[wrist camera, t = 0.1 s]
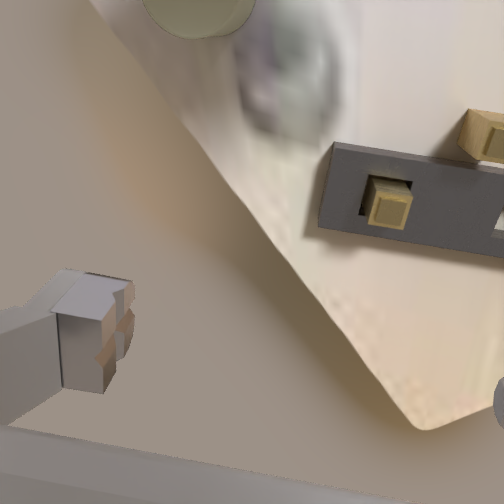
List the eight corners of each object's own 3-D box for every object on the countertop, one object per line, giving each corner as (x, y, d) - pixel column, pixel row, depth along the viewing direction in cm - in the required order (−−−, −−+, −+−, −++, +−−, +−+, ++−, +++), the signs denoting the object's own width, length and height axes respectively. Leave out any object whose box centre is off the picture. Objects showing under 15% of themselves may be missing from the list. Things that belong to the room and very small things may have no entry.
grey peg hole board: (334, 141, 55) (335, 147, 52) (588, 182, 54) (602, 190, 51) (317, 217, 60) (318, 227, 57) (551, 256, 58) (562, 267, 56)
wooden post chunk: (468, 108, 52) (492, 121, 45) (504, 113, 52) (533, 127, 45) (456, 143, 54) (477, 161, 47) (491, 148, 54) (517, 167, 47)
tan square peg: (369, 172, 56) (377, 192, 50) (401, 177, 56) (414, 198, 49) (361, 202, 58) (368, 226, 51) (393, 207, 58) (404, 232, 51)
